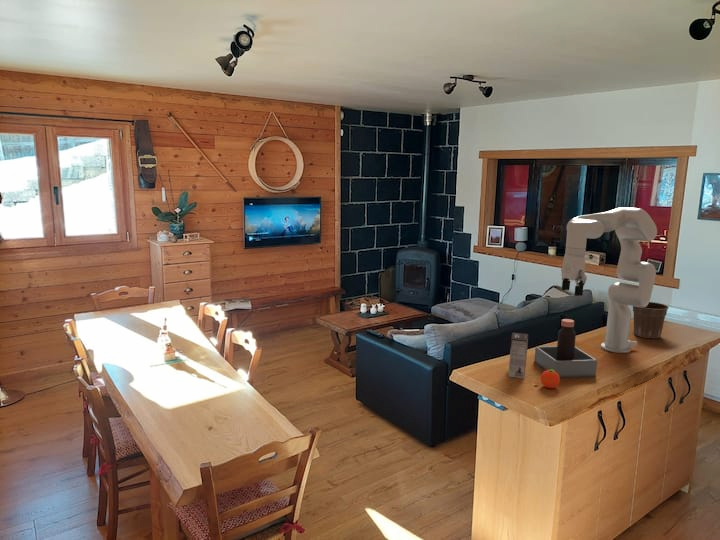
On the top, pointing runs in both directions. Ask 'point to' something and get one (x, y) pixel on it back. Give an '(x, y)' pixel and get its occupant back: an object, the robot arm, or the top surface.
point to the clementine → (550, 378)
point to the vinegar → (566, 341)
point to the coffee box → (518, 355)
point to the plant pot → (649, 320)
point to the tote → (566, 363)
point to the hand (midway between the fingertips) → (571, 292)
